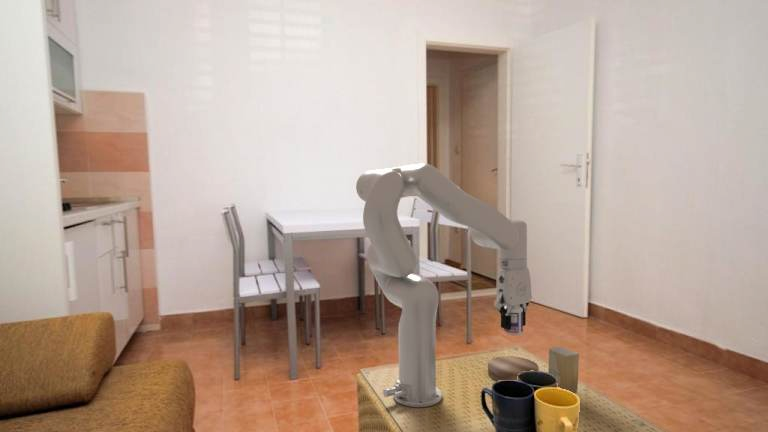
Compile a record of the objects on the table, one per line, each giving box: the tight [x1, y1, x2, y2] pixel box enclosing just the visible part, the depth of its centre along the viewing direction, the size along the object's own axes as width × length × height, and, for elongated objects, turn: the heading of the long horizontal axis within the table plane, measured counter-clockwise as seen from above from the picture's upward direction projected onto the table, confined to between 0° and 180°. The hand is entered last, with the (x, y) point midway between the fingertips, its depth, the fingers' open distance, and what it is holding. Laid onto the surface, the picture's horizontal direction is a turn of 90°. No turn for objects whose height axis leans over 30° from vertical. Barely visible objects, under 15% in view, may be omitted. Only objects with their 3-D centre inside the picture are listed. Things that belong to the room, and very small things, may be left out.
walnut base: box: [487, 355, 540, 382], centre depth 134 cm, size 14×14×3 cm
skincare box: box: [547, 346, 580, 395], centre depth 119 cm, size 6×4×12 cm
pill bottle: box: [503, 305, 524, 336], centre depth 133 cm, size 5×5×10 cm
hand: (513, 325), depth 133 cm, fingers closed on pill bottle, 5 cm apart
